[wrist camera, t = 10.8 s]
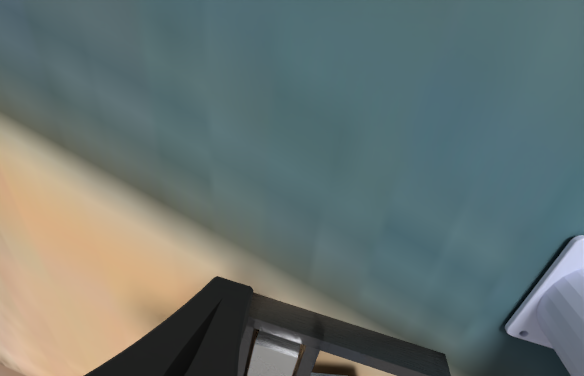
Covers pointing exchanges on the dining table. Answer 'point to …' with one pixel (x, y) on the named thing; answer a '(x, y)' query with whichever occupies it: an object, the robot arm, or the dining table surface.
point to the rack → (323, 344)
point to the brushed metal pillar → (321, 375)
